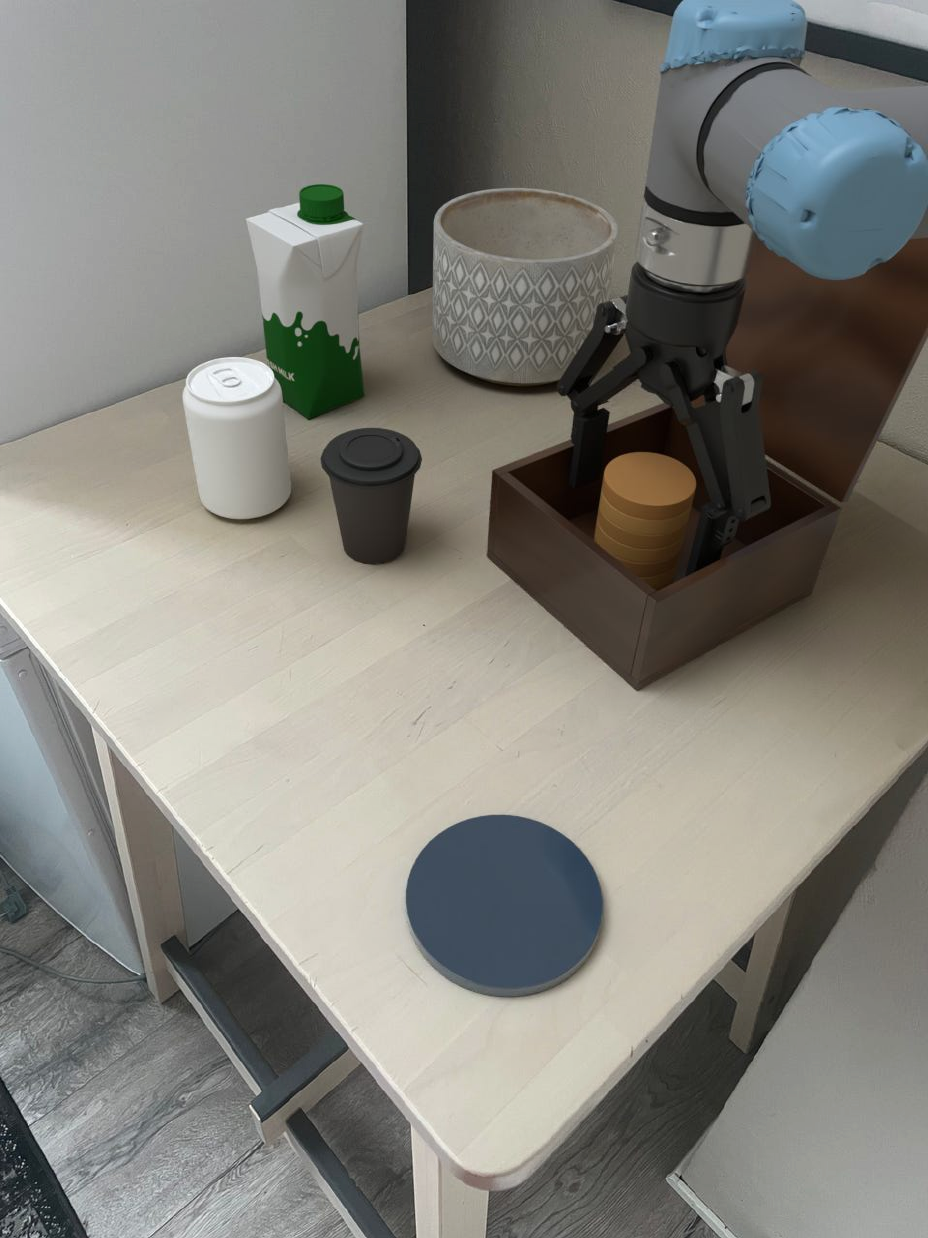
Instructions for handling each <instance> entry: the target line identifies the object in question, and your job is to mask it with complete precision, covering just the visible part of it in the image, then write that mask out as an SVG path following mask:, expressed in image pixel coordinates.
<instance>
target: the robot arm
mask: <svg viewBox="0 0 928 1238" xmlns="http://www.w3.org/2000/svg"><path fill="white" fill-rule="evenodd" d="M807 30H808V20H807V17H806V11H805V9H804V8H803V6H802V5H801V4H800V3H798V2H796V1H794V0H682V1H681V2H680V3H679V4H678V5H677V7H676V9H675V10H674V12H673V16H672V21H671V25H670V31H669V35H668V41H667V47H666V51H665V56H664V61H663V62H662V63H661V64H660V68H659V74H660V78H659V86H658V94H657V100H656V107H655V114H654V122H653V128H652V136H651V143H650V150H649V157H648V164H647V171H646V177H645V178H646V179H645V187H644V192H643V196H642V197H643V198H642V204H641V211H640V217H639V224H638V230H637V237H636V243H635V251H634V258H635V259H636V262H635V263H634V264H633V265H632V267H631V272H630V277H629V284H628V289H627V290H628V291H627V294H625V295H622V296H618V297H615V298H612V299H609V301H606V302H603V303H600V304H599V305H598V307H597V311H596V315H595V319H594V324H593V328H592V329H591V331H590V333H589V334H588V336H587V337H586V339H585V340H584V342H583V344H582V345H581V347H580V348H579V350H578V352H577V353H576V355H575V356H574V358H573V360H572V361H571V363H570V364H569V366H568V367H567V369H566V371H565V372H564V374H563V375H562V377H561V379H560V380H559V381H557V383H556V390H557V392H558V394H559V396H561V397H567V398H568V399H569V400H570V408H571V411H572V412H573V418H572V423H571V433H570V439H571V441H572V443H573V444H574V451H573V458H572V466H571V473H570V481H569V485H570V486H571V487H572V488H573V489H577V488H580V487H582V486H584V485H587V484H589V483H591V482H594V481H596V480H599V479H600V473H601V466H602V460H603V453H604V447H605V440H606V434H607V428H608V424H609V420H610V415H611V412H610V411H609V410H608V409H606V408H605V407H601V408H599V407H600V406H602V405H605V404H607V403H609V402H610V399H612V398H614V397H615V396H616V395H618V394H619V393H621V392H622V391H623V390H625V389H627V387H630V386H631V385H632V384H633V383H635V382H636V381H638V380H639V382H640V383H641V384H640V388H641V389H642V390H644V391H646V392H647V393H651V394H654V395H656V396H657V397H658V398H659V399H660V400H661V401H662V403H666V404H667V405H669V406H670V407H672V406H673V407H674V410H675V413H676V416H677V419H678V421H679V422H680V423H681V424H684V425H685V426H686V428H687V431H688V434H689V437H690V440H691V443H692V446H693V449H694V452H695V455H696V458H697V461H698V464H699V467H700V470H701V473H702V476H703V479H704V482H705V486H706V489H707V492H708V495H709V498H710V501H711V502H710V503H708V504H706V505H704V506H702V509H701V513H700V517H699V521H698V525H697V529H696V533H695V537H694V541H693V545H692V549H691V554H690V558H689V562H688V566H687V570H686V574H685V576H686V577H687V576H689V575H691V574H692V573H694V572H696V571H698V570H700V569H702V568H704V567H706V566H708V565H710V564H712V563H714V562H716V561H718V560H720V557H721V554H722V550H723V547H724V546H726V545H728V544H730V543H731V542H732V541H733V540H734V538H735V534H736V531H737V527H738V524H739V521H745V520H747V519H749V518H751V517H753V516H755V515H757V514H759V513H761V512H763V511H765V510H768V509H769V508H770V506H771V499H770V492H769V484H768V476H767V468H766V460H765V459H766V455H765V452H764V444H763V436H762V429H761V421H760V413H759V399H760V392H761V386H762V376H761V374H760V372H759V371H757V370H751V371H748V372H746V373H742V372H740V371H738V370H735V369H733V368H731V367H728V366H727V361H726V346H727V344H728V342H729V340H730V338H731V337H732V335H733V333H734V331H735V329H736V327H737V323H738V319H739V315H740V311H741V307H742V302H743V298H744V294H745V290H746V285H747V283H746V279H745V276H746V275H747V274H748V273H749V272H750V270H751V267H752V263H753V258H754V254H755V250H756V245H757V241H758V238H759V239H760V240H761V241H762V242H763V244H765V245H766V246H767V248H768V249H769V250H773V251H774V252H775V253H776V254H777V255H778V256H780V257H785V258H787V259H788V260H790V261H791V262H792V263H794V264H795V265H797V266H798V267H800V268H801V269H802V270H804V271H805V272H807V273H808V274H810V275H813V276H815V277H818V278H822V279H827V280H845V279H851V278H855V277H858V276H860V275H862V274H865V273H866V271H867V270H868V269H870V268H872V267H873V266H875V265H877V264H879V263H882V262H886V261H887V260H889V259H890V258H892V257H893V256H894V255H895V254H896V253H897V252H899V251H900V250H901V248H902V247H903V246H904V245H905V244H906V243H907V241H908V240H909V239H917V238H927V237H928V85H916V86H915V85H914V86H913V85H912V86H895V87H877V88H861V89H860V88H858V89H842V88H837V87H832V86H830V85H828V84H827V83H825V82H823V81H821V80H820V79H818V78H816V77H814V76H812V75H811V74H810V73H808V72H807V71H806V70H804V69H803V68H802V67H800V66H801V63H802V61H803V60H804V58H805V55H806V49H805V44H806V38H807ZM624 336H625V339H626V342H627V346H628V349H629V354H628V355H627V356H626V357H624V358H623V359H622V360H620V361H619V362H618V363H617V364H615V365H613V367H612V369H611V370H610V371H608V372H607V373H606V374H604V375H603V376H602V377H600V378H599V379H598V380H596V381H595V382H594V383H592V382H593V381H594V380H595V378H596V376H597V375H599V372H600V371H601V370H602V368H603V366H604V365H605V364H606V362H607V361H608V359H609V357H610V356H611V354H613V352H614V350H615V348H616V347H617V345H618V344H619V343H620V341H621V340H622V338H623V337H624ZM702 395H704V398H705V403H704V404H703V405H701V406H698V407H696V408H693V407H692V405H691V402H692V401H694V400H696V399H698V398H699V397H700V396H702ZM728 490H730V493H728V494H726V493H727V491H728Z"/></svg>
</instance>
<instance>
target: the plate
mask: <svg viewBox="0 0 928 1238" xmlns="http://www.w3.org/2000/svg"><path fill="white" fill-rule="evenodd" d="M405 915H406V921H407V925H408V929H409V933H410V935H411V937H412V940H413V942H414V944H415V946H416V948H417V949H418V950H419V952H420V954H421V955H422V956H423V958H424V959H425V960H426V961H427V962H428V963H429V964H430V966H431V967H432V968H434V969H435V971H437V972H438V973H439V974H440V975H441V976H443V977H445V978H446V979H448V980H449V981H450V982H452V983H453V984H455V985H458V986H460V987H461V988H463V989H467V990H469V991H472V992H475V993H479V994H483V995H487V996H492V997H502V998H509V997H511V998H514V997H524V996H530V995H534V994H538V993H541V992H544V991H547V990H549V989H552V988H554V987H556V986H558V985H559V984H561V983H562V982H564V981H565V980H567V979H568V978H570V977H571V976H572V975H573V974H575V973H576V972H577V971H578V970H579V969H580V968H581V967H582V965H583V964H585V962H586V961H587V959H588V957H590V955H591V953H592V952H593V949H594V947H595V945H596V943H597V941H598V937H599V934H600V930H601V926H602V921H603V915H604V898H603V892H602V888H601V884H600V881H599V877H598V875H597V873H596V871H595V869H594V867H593V865H592V863H591V862H590V861H589V859H588V857H587V856H586V855H585V854H584V852H583V851H582V850H581V849H580V847H579V846H578V845H576V844H575V843H574V842H573V841H572V839H570V838H569V837H567V836H566V835H564V834H563V833H562V832H560V831H558V830H557V829H555V828H553V827H552V826H550V825H548V824H545V823H543V822H541V821H539V820H535V819H532V818H529V817H524V816H520V815H513V814H486V815H479V816H475V817H471V818H467V819H465V820H462V821H459V822H457V823H454V824H453V825H452V824H451V826H449V827H447V828H445V829H444V830H442V831H440V832H439V833H437V834H436V835H435V836H434V837H433V838H432V839H430V840H429V842H427V844H425V846H424V847H423V848H422V849H421V851H419V854H418V855H417V857H416V858H415V860H414V861H413V864H412V866H411V868H410V871H409V874H408V878H407V881H406V888H405Z"/></svg>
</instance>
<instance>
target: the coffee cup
mask: <svg viewBox="0 0 928 1238" xmlns="http://www.w3.org/2000/svg"><path fill="white" fill-rule="evenodd" d="M422 461H423V456H422V454H421V451H420V449H419V448H418V446H417V445H416V443H415V442H414V441H413V440H412V439H411V438H409V437H408V436H407V435H406V434H403V433H400V432H399V431H395V430H392V429H388V428H383V427H361V428H355V429H350V430H348V431H345V432H343V433H340V434H338V435H336V436H335V437H333V438H332V439H331V440H330V441H329V442H328V443H327V444H326V446H325V447H324V448H323V450H322V453H321V456H320V464H321V468H322V470H323V471H324V472H325V474H326V475H327V476H328V477H329V483H330V488H331V493H332V497H333V502H334V507H335V512H336V517H337V522H338V527H339V528H338V529H339V533H340V537H341V542H342V546H343V551H344V553H345V554H346V555H347V556H348V557H349V558H350V559H352V560H354V561H355V562H358V563H361V564H363V565H364V564H365V565H382V564H385V563H390V562H392V561H394V560H396V559H398V558H399V557H400V556H401V555H403V553H404V551H405V548H406V544H407V535H408V528H409V521H410V513H411V506H412V500H413V499H412V498H413V492H414V484H415V483H414V482H415V476H416V474H417V472H418V471H419V470H420V468H421V466H422Z"/></svg>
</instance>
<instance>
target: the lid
mask: <svg viewBox="0 0 928 1238" xmlns="http://www.w3.org/2000/svg"><path fill="white" fill-rule="evenodd" d="M745 279H746V283H747V285H746V290H745V294H744V298H743V302H742V307H741V311H740V315H739V319H738V323H737V327H736V329H735V331H734V333H733V335H732V337H731V338H730V340H729V342H728V344H727V346H726V361H727V366H728V367H731V368H733V369H735V370H738V371H740V372H742V373H746V372H748V371H751V370H757V371H759V372H760V374H761V376H762V386H761V392H760V399H759V413H760V421H761V429H762V436H763V444H764V452H765V456H766V457H768V458H770V459H771V460H773V461H774V462H776V463H777V464H779V465H780V466H782V467H784V468H785V469H787V470H788V471H790V472H792V473H793V474H795V475H796V476H798V477H800V478H801V479H803V480H805V481H806V482H808V483H809V484H811V485H813V486H814V487H816V488H817V489H819V490H820V491H822V492H823V493H825V494H827V495H828V496H829V497H831V498H833V499H834V500H836V501H837V502H839V503H840V504H842V503H843V504H844V503H846V502H848V501H849V499H850V497H851V495H852V493H853V491H854V490H855V487H856V485H857V483H858V481H859V478H860V477H861V475H862V472H863V470H864V469H865V467H866V465H867V462H868V460H869V458H870V456H871V454H872V452H873V450H874V448H875V447H876V444H877V442H878V441H879V438H880V436H881V433H882V432H883V430H884V427H885V426H886V424H887V422H888V420H889V418H890V416H891V414H892V411H893V409H894V407H895V405H896V403H897V401H898V399H899V398H900V395H901V393H902V391H903V388H904V387H905V385H906V383H907V381H908V379H909V377H910V376H911V375H910V374H911V373H912V370H913V369H914V367H915V364H916V363H917V360H918V358H919V356H920V354H921V352H922V350H923V348H924V347H925V344H926V342H927V340H928V237H927V238H917V239H909V240H908V241H907V243H906V244H905V245H904V246H903V247H902V248H901V250H900V251H899V252H897V253H896V254H895V255H894V256H893V257H892V258H890V259H889V260H887V261H886V262H882V263H879V264H877V265H875V266H873V267H872V268H870V269H868V270H867V271H866V273H865V274H862V275H860V276H858V277H855V278H851V279H845V280H827V279H822V278H818V277H815V276H813V275H810V274H808V273H807V272H805V271H804V270H802V269H801V268H800V267H798V266H797V265H795V264H794V263H792V262H791V261H790V260H788V259H787V258H785V257H780V256H778V255H777V254H776V253H775V252H774V251H773V250H769V249H768V248H767V246H766V245H765V244H763V242H762V241H761V240H760V239H759V238H758V241H757V245H756V250H755V254H754V258H753V263H752V267H751V270H750V272H749V273H748V274H747V275H746V276H745ZM704 403H705V398H704V395H702V396H700V397H699V398H698V399H696V400H694V401H692V402H691V405H692V407H693V408H696V407H698V406H701V405H703V404H704Z"/></svg>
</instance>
